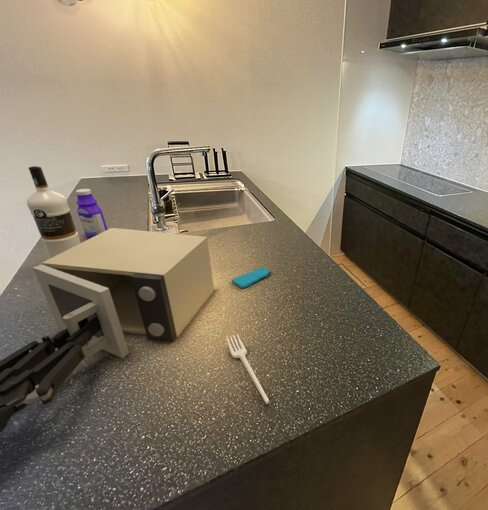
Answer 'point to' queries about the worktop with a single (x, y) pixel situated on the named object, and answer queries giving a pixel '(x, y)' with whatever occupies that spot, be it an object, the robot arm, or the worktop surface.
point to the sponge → (251, 277)
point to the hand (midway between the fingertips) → (92, 322)
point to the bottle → (90, 213)
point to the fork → (246, 364)
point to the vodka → (51, 216)
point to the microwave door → (82, 309)
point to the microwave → (145, 277)
